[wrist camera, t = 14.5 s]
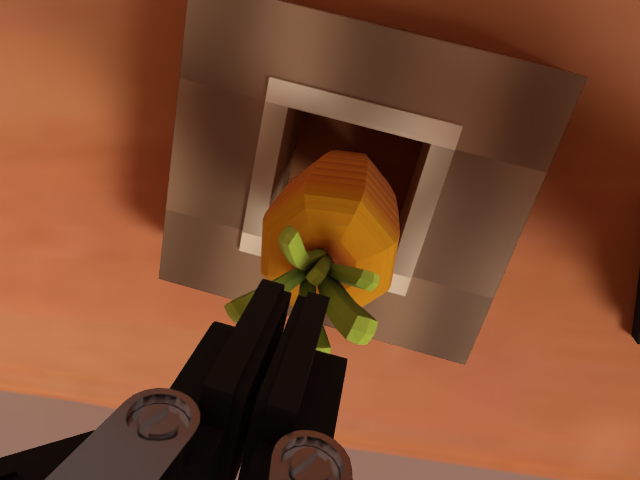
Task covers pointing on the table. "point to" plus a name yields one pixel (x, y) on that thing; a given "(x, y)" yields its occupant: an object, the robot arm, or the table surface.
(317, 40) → the seat block
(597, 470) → the table surface
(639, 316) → the chess piece
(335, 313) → the carrot
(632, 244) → the table surface
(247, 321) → the robot arm
